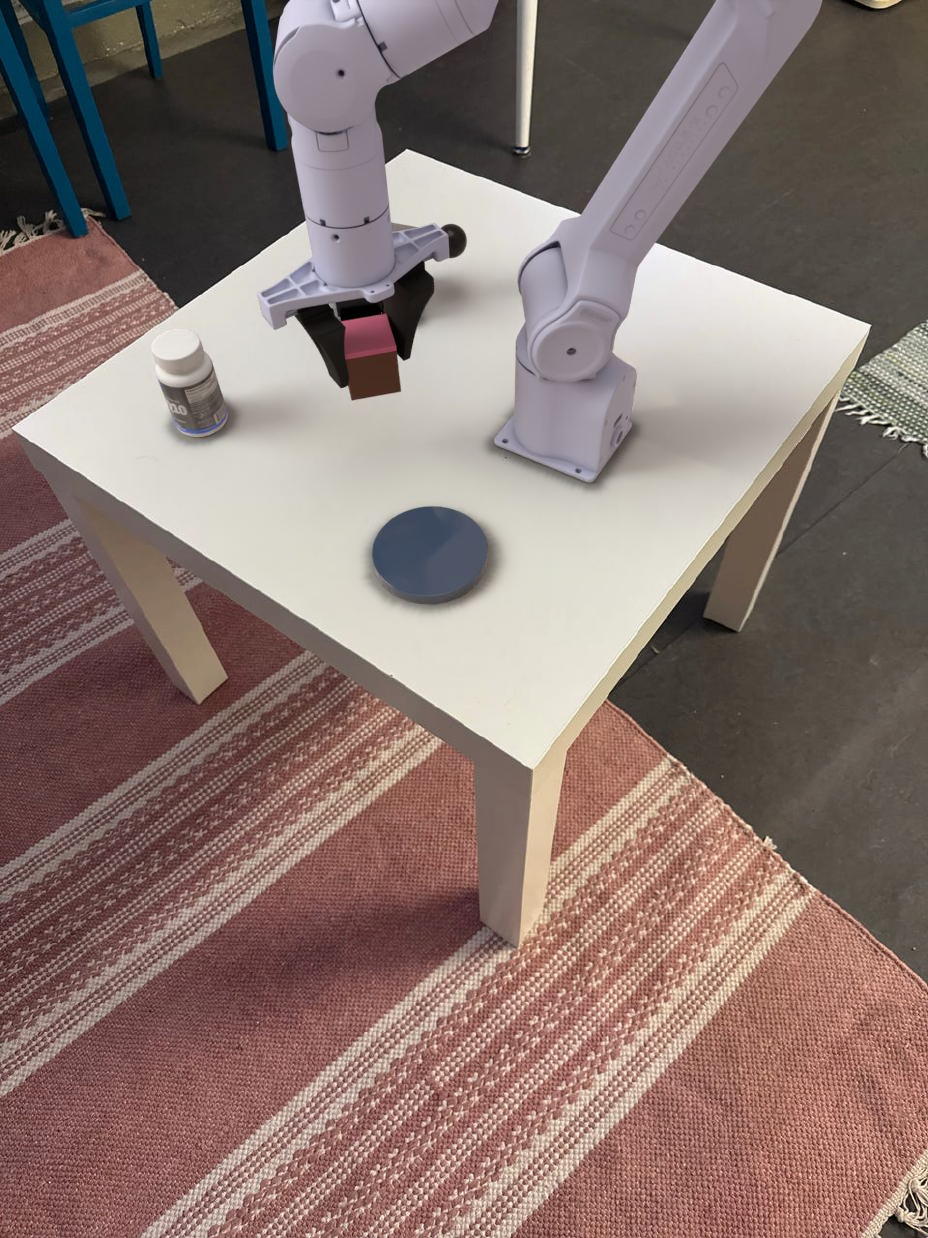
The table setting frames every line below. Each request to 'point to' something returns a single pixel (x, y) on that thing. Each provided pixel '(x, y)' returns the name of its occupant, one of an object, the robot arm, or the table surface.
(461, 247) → the lever
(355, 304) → the bracket
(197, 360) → the pill bottle
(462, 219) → the table surface
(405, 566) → the plate
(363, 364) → the cake slice
